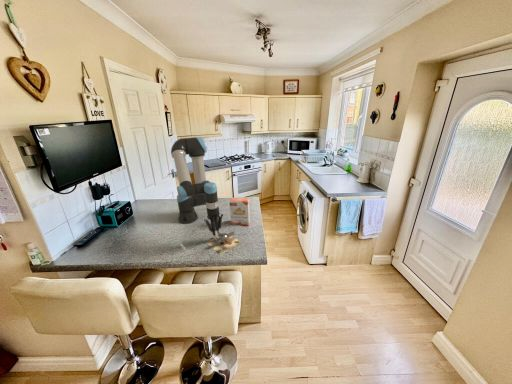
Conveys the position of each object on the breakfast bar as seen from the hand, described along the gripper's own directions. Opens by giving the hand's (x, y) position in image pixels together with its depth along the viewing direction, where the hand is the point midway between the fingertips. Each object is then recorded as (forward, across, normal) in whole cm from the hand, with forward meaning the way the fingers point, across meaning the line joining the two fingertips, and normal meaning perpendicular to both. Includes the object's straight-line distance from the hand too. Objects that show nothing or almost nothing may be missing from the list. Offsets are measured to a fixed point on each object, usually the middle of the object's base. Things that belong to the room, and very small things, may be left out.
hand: (216, 238), depth 134 cm
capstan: (+2, +2, -6) cm, 6 cm away
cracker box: (+3, +26, +7) cm, 27 cm away
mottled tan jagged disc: (+3, +2, -6) cm, 7 cm away
